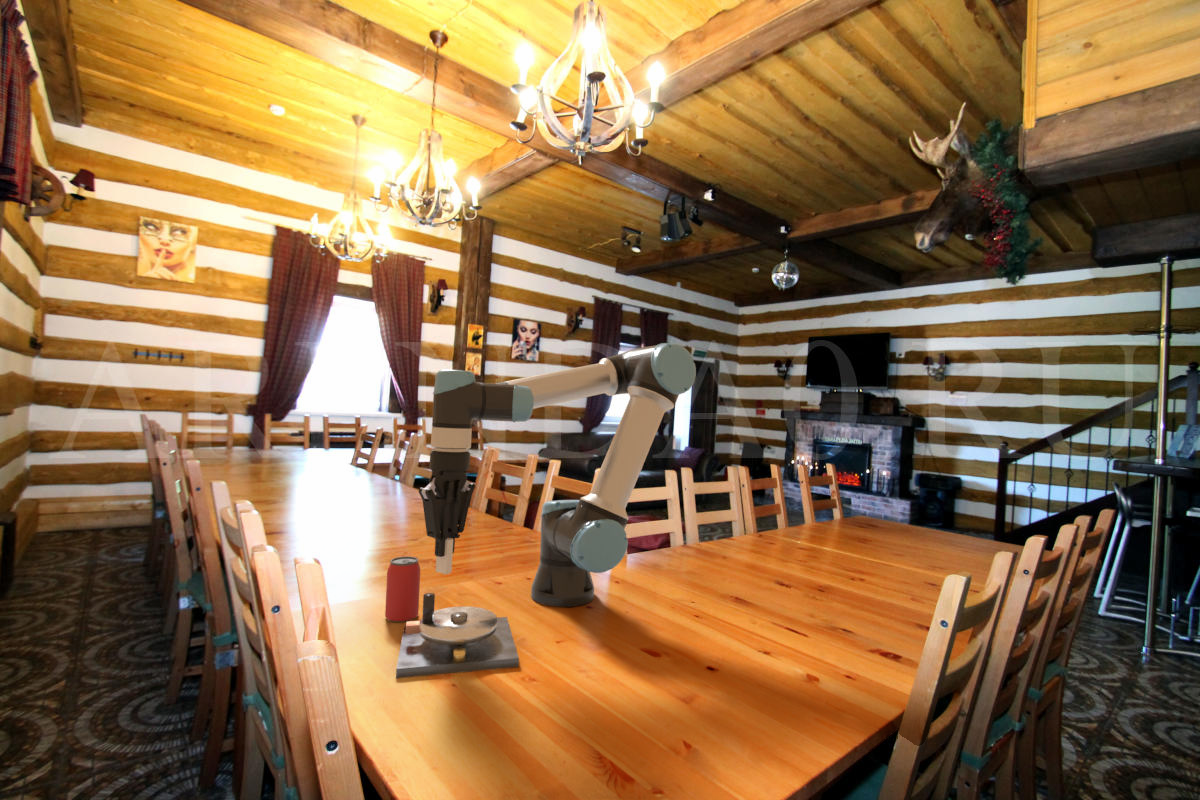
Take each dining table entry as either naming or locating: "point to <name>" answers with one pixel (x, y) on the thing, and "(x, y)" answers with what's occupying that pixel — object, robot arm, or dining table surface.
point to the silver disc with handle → (452, 623)
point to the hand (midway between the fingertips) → (443, 572)
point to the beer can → (402, 589)
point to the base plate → (443, 654)
